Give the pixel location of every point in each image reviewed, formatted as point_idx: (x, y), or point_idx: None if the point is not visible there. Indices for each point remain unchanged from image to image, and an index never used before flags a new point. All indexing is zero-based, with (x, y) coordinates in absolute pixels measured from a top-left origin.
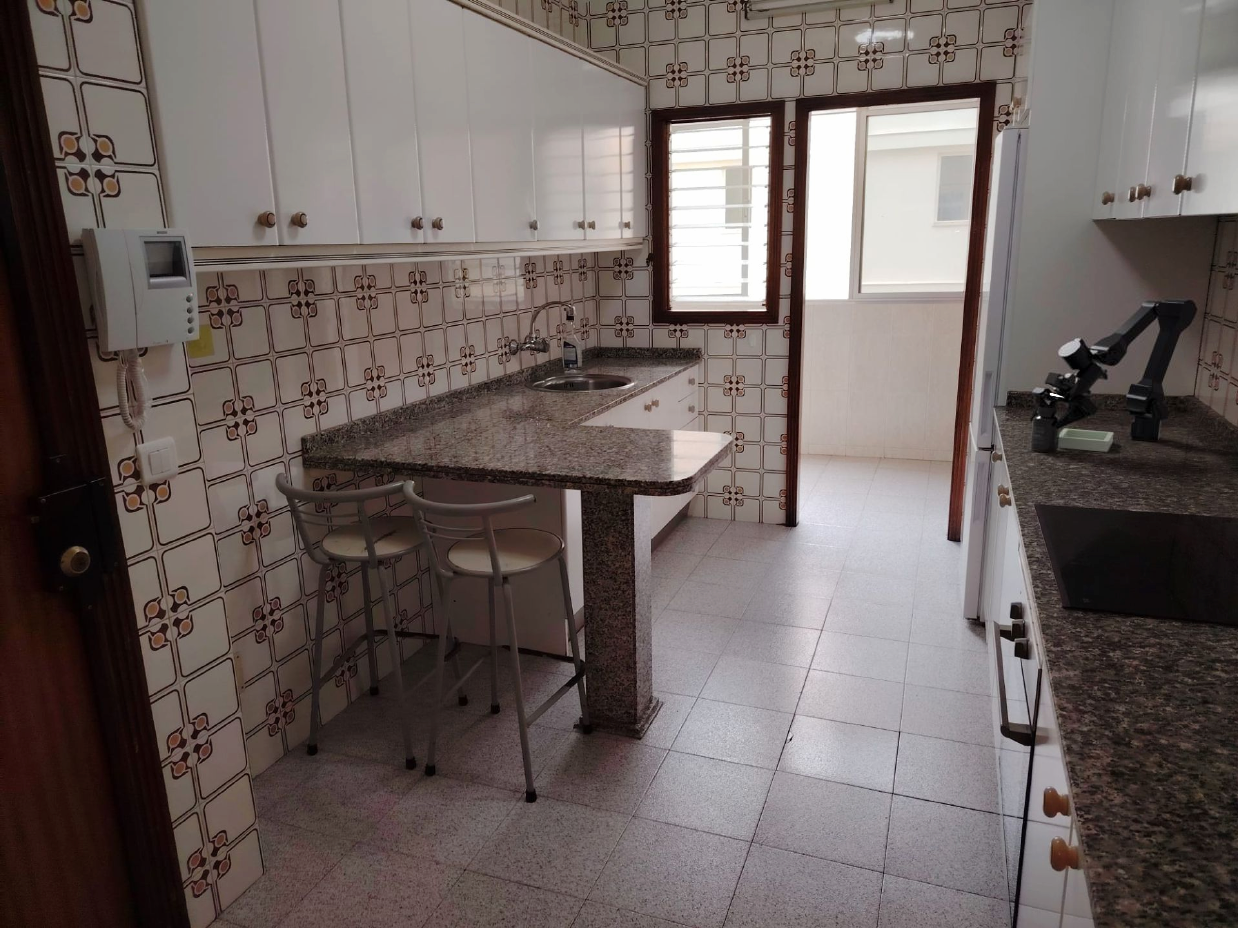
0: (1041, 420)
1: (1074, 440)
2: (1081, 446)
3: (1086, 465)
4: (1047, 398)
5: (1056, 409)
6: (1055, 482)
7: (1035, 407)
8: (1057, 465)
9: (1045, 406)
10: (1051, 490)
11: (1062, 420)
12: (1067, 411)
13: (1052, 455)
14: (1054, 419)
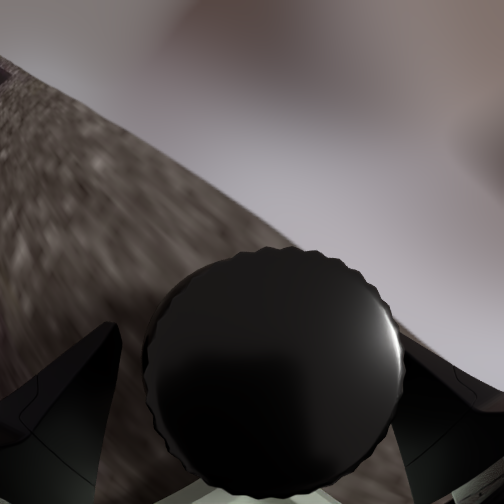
0: (209, 265)
1: (204, 491)
2: (182, 493)
3: (9, 299)
4: (495, 493)
5: (158, 426)
6: (8, 131)
7: (461, 374)
8: (48, 220)
9: (333, 372)
10: (5, 108)
11: (65, 357)
12: (21, 415)
13: (141, 315)
14: (147, 359)
